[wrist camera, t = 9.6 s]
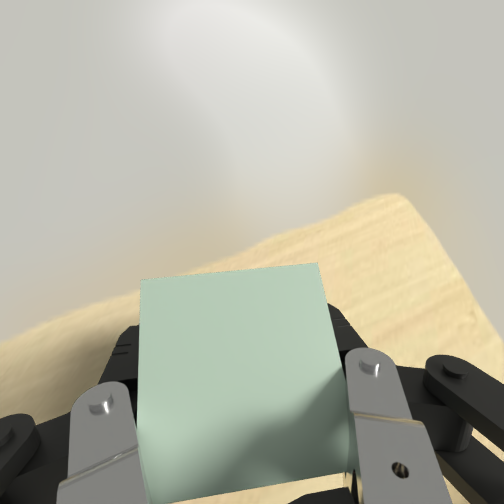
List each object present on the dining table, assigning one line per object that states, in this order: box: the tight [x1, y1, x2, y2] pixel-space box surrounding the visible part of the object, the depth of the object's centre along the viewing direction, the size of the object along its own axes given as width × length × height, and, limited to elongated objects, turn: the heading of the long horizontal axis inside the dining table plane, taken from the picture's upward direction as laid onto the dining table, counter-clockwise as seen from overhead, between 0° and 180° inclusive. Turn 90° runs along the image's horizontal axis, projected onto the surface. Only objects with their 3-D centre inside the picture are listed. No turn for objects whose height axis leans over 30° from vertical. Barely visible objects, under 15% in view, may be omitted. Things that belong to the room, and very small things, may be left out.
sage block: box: [137, 263, 349, 504], centre depth 11 cm, size 5×5×8 cm
